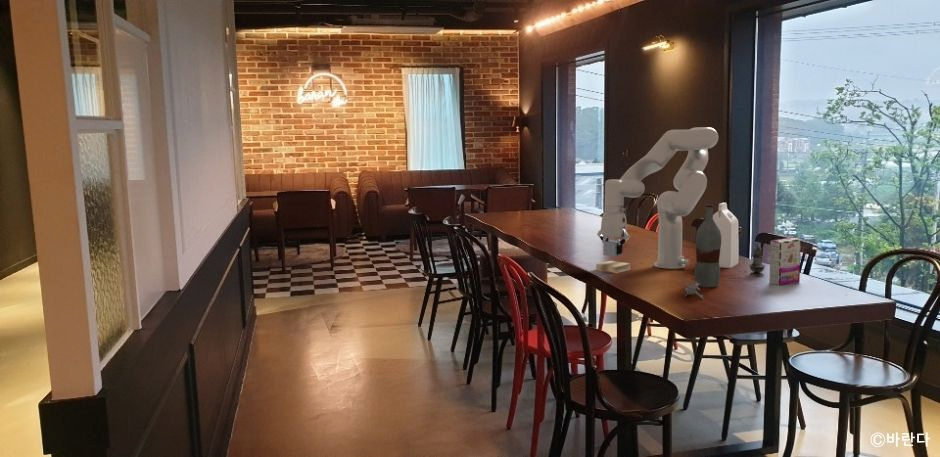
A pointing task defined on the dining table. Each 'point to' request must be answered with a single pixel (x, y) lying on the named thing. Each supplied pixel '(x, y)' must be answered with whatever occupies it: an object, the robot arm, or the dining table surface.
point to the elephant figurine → (692, 289)
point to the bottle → (708, 251)
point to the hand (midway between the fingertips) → (612, 253)
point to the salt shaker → (757, 263)
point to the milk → (727, 236)
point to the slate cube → (610, 248)
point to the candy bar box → (785, 261)
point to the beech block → (613, 266)
